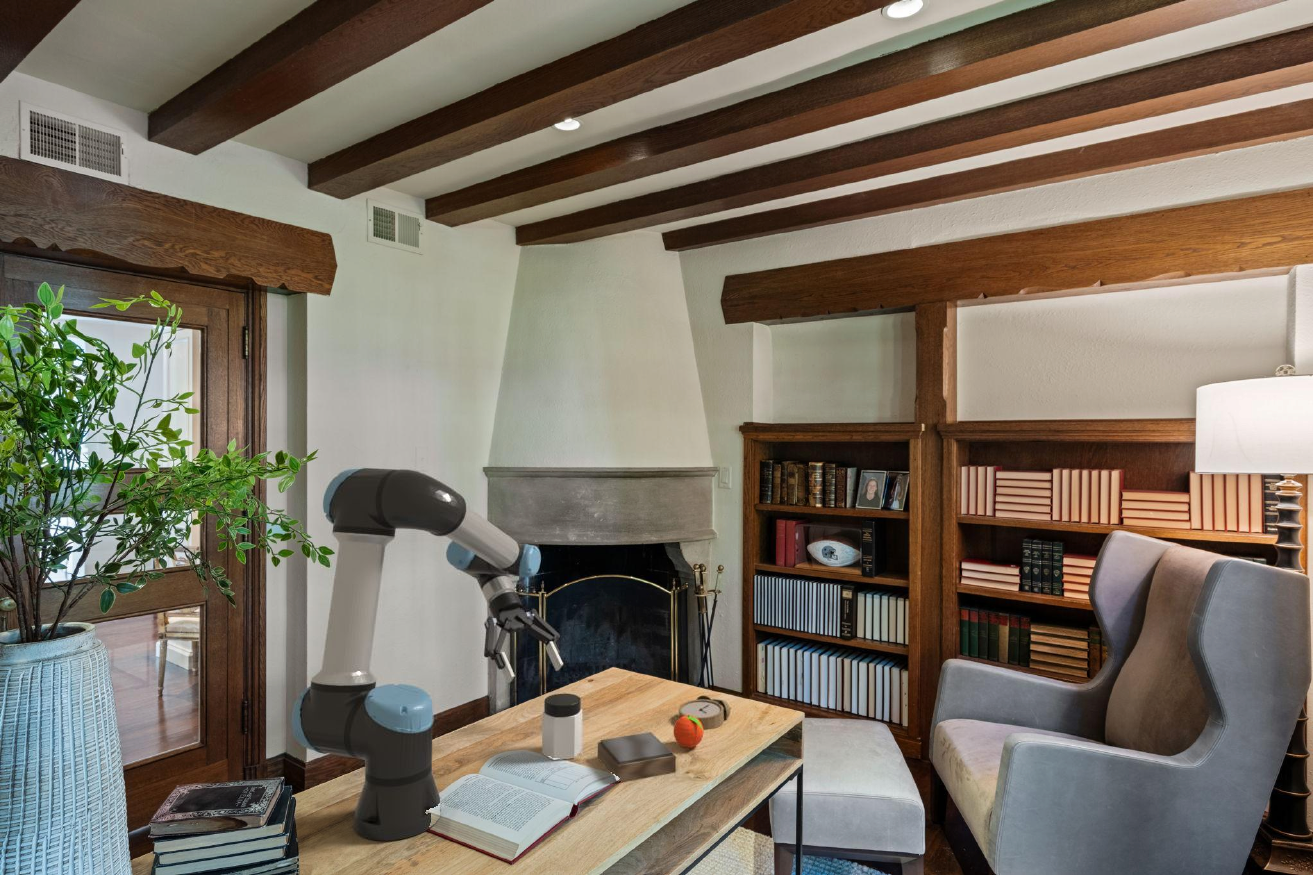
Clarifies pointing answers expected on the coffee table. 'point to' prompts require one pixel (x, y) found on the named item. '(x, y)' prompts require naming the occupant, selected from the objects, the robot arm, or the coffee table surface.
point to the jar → (562, 726)
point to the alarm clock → (706, 711)
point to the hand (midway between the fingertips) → (536, 673)
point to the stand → (636, 756)
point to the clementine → (688, 731)
